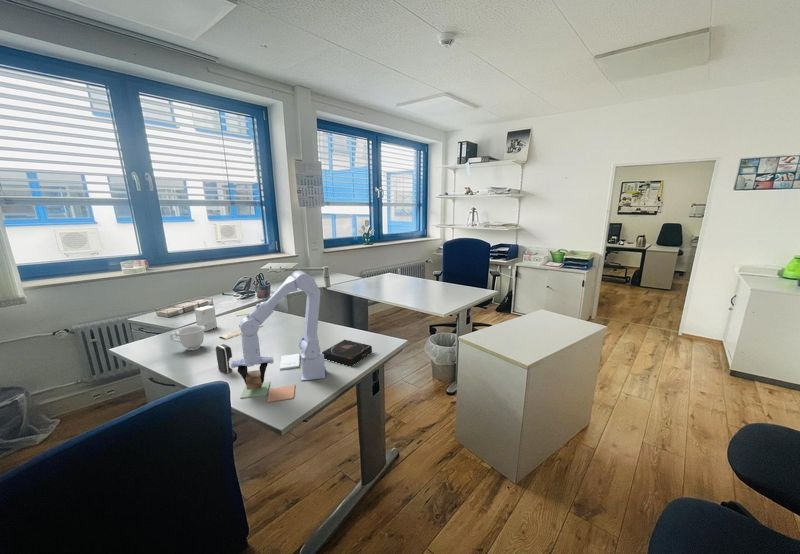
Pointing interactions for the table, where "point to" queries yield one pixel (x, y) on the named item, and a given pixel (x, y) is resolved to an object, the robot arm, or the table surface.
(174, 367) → the table surface
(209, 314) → the small box
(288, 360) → the external hard drive
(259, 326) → the wooden plank
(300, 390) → the table surface
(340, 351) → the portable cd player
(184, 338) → the teacup
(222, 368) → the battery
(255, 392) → the mat
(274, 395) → the mat
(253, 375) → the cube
